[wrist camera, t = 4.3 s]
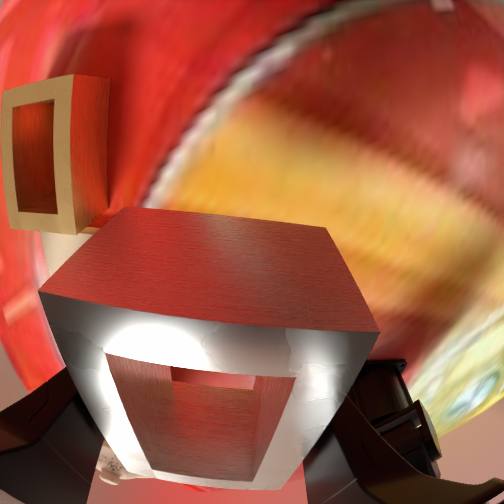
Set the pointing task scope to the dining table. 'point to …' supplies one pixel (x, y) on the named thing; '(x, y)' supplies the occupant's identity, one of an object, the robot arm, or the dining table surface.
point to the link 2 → (209, 341)
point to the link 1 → (55, 153)
